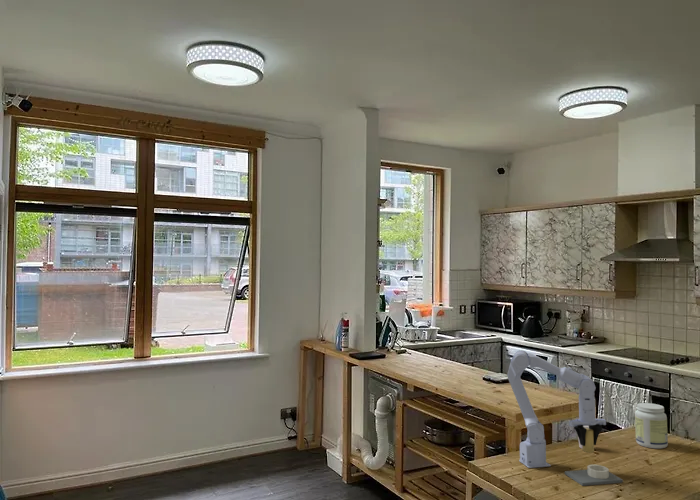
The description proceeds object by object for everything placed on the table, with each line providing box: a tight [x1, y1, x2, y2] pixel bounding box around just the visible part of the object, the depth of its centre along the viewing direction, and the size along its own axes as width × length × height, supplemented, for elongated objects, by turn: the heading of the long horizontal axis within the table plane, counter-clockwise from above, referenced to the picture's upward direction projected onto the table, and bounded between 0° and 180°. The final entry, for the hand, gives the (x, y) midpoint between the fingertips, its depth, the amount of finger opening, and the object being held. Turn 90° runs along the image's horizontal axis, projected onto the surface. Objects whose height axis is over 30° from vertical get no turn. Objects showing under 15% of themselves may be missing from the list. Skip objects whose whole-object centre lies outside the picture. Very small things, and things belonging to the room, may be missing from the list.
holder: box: [564, 464, 624, 487], centre depth 190 cm, size 16×11×4 cm
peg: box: [581, 428, 595, 454], centre depth 199 cm, size 4×4×8 cm
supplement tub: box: [634, 402, 669, 449], centre depth 227 cm, size 12×12×17 cm
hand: (588, 444), depth 199 cm, fingers closed on peg, 4 cm apart
